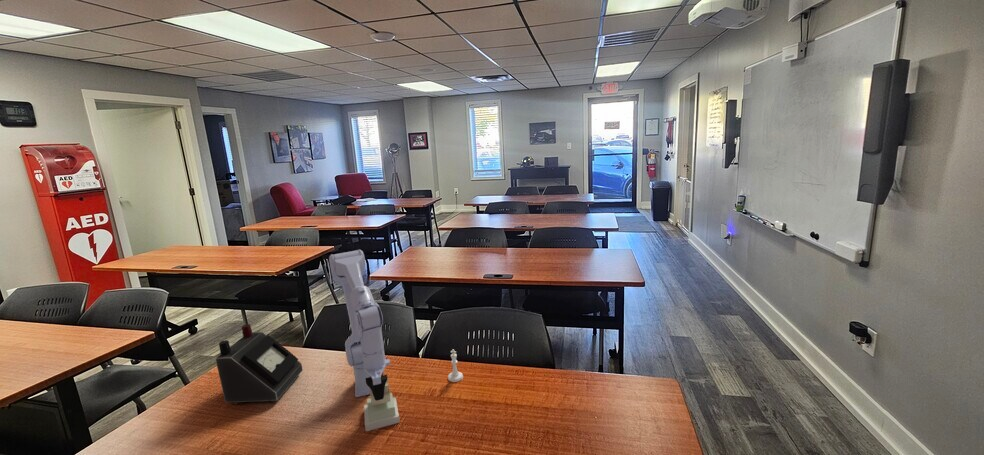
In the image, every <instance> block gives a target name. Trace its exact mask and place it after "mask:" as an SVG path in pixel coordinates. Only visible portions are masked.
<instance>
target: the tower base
mask: <svg viewBox="0 0 984 455" xmlns="http://www.w3.org/2000/svg"><path fill="white" fill-rule="evenodd" d="M393 401H394V406H395V414H396V415H393V416H390V417H386V418H383V419H379V420H375V421H372V422H369V416H368V406H367V404H364V405H363V411H364V412H363V414H364V427H365V429H364V430H365V432H369V431H372V430H373V431H374V430H377V429H381V428H384V427H388V426H391V425H395V424H398V423H400V414H399V409H398V403H397V398H396V397H393Z"/></svg>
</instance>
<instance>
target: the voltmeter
mask: <svg viewBox="0 0 984 455" xmlns="http://www.w3.org/2000/svg"><path fill="white" fill-rule="evenodd" d="M251 327H252V326H251V324H249V323H248V324H243V325H242V326H241V332H242V333H241V334H242V337H241V338H240V339H238V340H237V341H235V343H233V344H232V345H230V342H229V340H226V339H225V340H222V341H220V342H219V343H218V346H219V352H220V354H219V355H218V356H216V357H215V358H214V360H215V364H216V368H217V372H218V376H219V380H220V381H219V382H220V384H221V389H222V394H223V397H224V403H233V404H234V403H237V404H239V403H245V402H269V401H271V403H277V402H278V401H279V400H280V397H282V396H283V394H284V393H285V392H287V390H288V388H290V386H291V384H293V383H294V381H295V380H296V379H298V377H299V375H300V374H301V373H302V372H303V371H304V369H303V363H301V362H300V361H299V358H298V357H296V356H295V354H293V353H292V352H291V351H289V350H288V349H287V348H286V347H284V346H283V345H282V344H281V343H279V342H278V341H277V340H276V339H274V338H273V337H272V336H270V334H266V333H264V332H263V331H258V332H257V331H256V332H255V331H254V332H253V329H252V328H251ZM238 402H239V403H238Z"/></svg>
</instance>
